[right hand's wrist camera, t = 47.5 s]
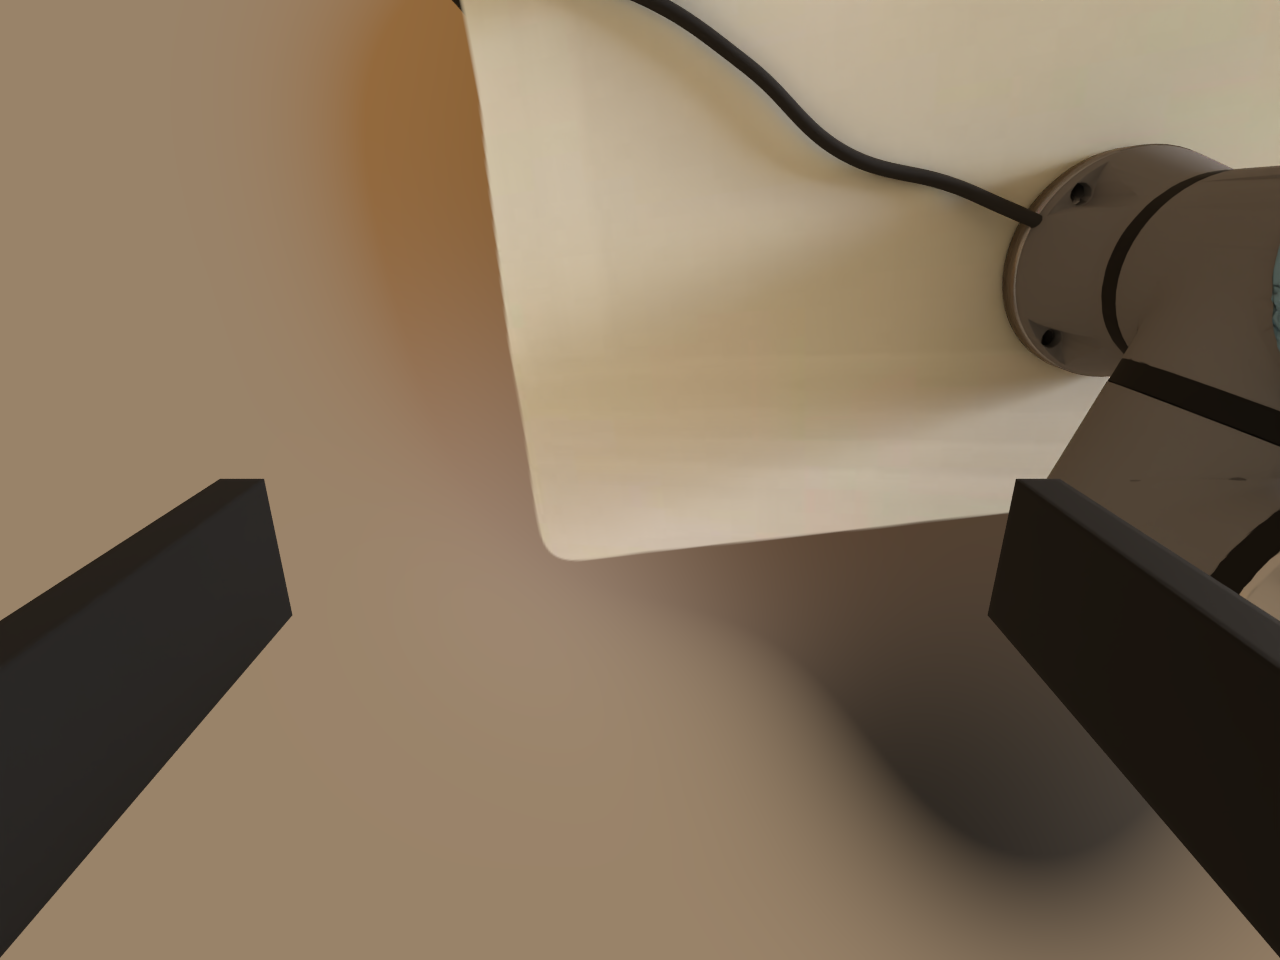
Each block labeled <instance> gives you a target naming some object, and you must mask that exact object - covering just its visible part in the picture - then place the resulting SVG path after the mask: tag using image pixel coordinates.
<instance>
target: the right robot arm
mask: <svg viewBox="0 0 1280 960" xmlns="http://www.w3.org/2000/svg"><path fill="white" fill-rule="evenodd" d="M452 1H453V2H454V3H455V4H456V5H457V7H458V8H459V9H460V10H461V11H462V12H463V8H462V3H461V0H452ZM631 1H634V2H636V3H638V4H640V5H642V6H645V7H647V8H649V9H651V10H653V11H655V12H657V13H658V14H660V15H662V16H664V17H666V18H667V19H669V20H671V21H673V22H674V23H676V24H677V25H679V26H681V27H682V28H684V29H685V30H687V31H688V32H690V33H691V34H693V35H694V36H695V37H697V38H698V39H700V40H701V41H702V42H704V43H705V44H707V45H708V46H709V47H711V48H712V49H713V50H714V51H716V52H717V53H718V54H720V55H721V56H722V57H724V58H725V59H726V60H727V61H729V62H730V63H731V64H733V65H734V66H735V67H736V68H738V69H739V70H740V71H742V72H743V73H744V74H745V75H747V76H748V77H749V78H750V79H752V80H753V81H754V82H755V83H756V84H757V85H758V86H759V87H761V88H762V89H763V90H764V91H765V92H766V93H767V94H768V95H769V96H770V97H771V98H772V99H773V100H774V102H775V103H776V104H777V105H778V106H779V107H780V108H781V109H782V110H783V111H784V112H785V113H786V114H787V116H788V117H789V118H790V119H791V120H792V121H793V122H794V123H795V124H796V125H797V126H798V127H799V128H800V129H801V130H802V131H803V132H804V133H805V134H806V135H807V136H808V137H809V138H810V139H811V140H813V141H814V142H815V143H816V144H818V145H819V146H820V147H821V148H823V149H824V150H826V151H827V152H828V153H830V154H832V155H833V156H835V157H837V158H838V159H840V160H842V161H844V162H846V163H848V164H850V165H852V166H854V167H856V168H859V169H861V170H864V171H867V172H870V173H873V174H876V175H880V176H884V177H888V178H893V179H898V180H903V181H908V182H913V183H918V184H922V185H927V186H931V187H934V188H938V189H941V190H944V191H947V192H950V193H953V194H956V195H959V196H961V197H963V198H966V199H968V200H970V201H973V202H975V203H977V204H979V205H981V206H984V207H986V208H988V209H990V210H993V211H995V212H997V213H999V214H1002V215H1004V216H1006V217H1009V218H1011V219H1013V220H1015V221H1018V222H1020V223H1019V225H1018V227H1017V229H1016V231H1015V233H1014V236H1013V238H1012V241H1011V243H1010V246H1009V249H1008V252H1007V256H1006V260H1005V265H1004V272H1003V299H1004V305H1005V310H1006V313H1007V317H1008V319H1009V322H1010V324H1011V327H1012V328H1013V330H1014V332H1015V334H1016V335H1017V337H1018V338H1019V340H1020V341H1021V342H1022V343H1023V344H1024V346H1025V347H1026V348H1027V349H1028V350H1029V351H1031V352H1032V353H1033V354H1034V355H1035V356H1037V357H1038V358H1040V359H1041V360H1043V361H1045V362H1047V363H1049V364H1051V365H1054V366H1056V367H1059V368H1062V369H1064V370H1067V371H1070V372H1072V373H1076V374H1080V375H1086V376H1097V377H1106V376H1111V377H1110V378H1109V380H1108V381H1107V382H1106V384H1105V385H1104V387H1103V389H1102V390H1101V392H1100V394H1099V395H1098V397H1097V398H1096V400H1095V402H1094V403H1093V405H1092V406H1091V408H1090V410H1089V411H1088V413H1087V415H1086V416H1085V418H1084V419H1083V421H1082V423H1081V424H1080V426H1079V428H1078V429H1077V431H1076V432H1075V434H1074V436H1073V437H1072V439H1071V440H1070V442H1069V444H1068V445H1067V447H1066V449H1065V450H1064V452H1063V453H1062V455H1061V457H1060V458H1059V460H1058V461H1057V463H1056V465H1055V466H1054V468H1053V470H1052V471H1051V473H1050V474H1049V476H1048V478H1047V479H1016V482H1015V487H1014V491H1013V496H1012V501H1011V506H1010V511H1009V515H1008V520H1007V525H1006V530H1005V535H1004V539H1003V544H1002V549H1001V554H1000V559H999V563H998V568H997V573H996V578H995V582H994V587H993V592H992V597H991V602H990V607H989V611H988V616H989V617H990V618H991V620H992V621H993V622H994V623H995V624H996V625H997V627H998V628H999V629H1000V630H1001V631H1002V633H1003V634H1004V635H1005V636H1006V637H1007V638H1008V640H1009V641H1010V642H1011V643H1012V644H1013V645H1014V647H1015V648H1016V649H1017V650H1018V651H1019V652H1020V654H1021V655H1022V656H1023V657H1024V658H1025V659H1026V661H1027V662H1028V663H1029V664H1030V665H1031V667H1032V668H1033V669H1034V670H1035V671H1036V672H1037V674H1038V675H1039V676H1040V677H1041V678H1042V679H1043V681H1044V682H1045V683H1046V684H1047V685H1048V686H1049V688H1050V689H1051V690H1052V691H1053V692H1054V693H1055V695H1056V696H1057V697H1058V698H1059V699H1060V700H1061V702H1062V703H1063V704H1064V705H1065V706H1066V707H1067V709H1068V710H1069V711H1070V712H1071V713H1072V715H1073V716H1074V717H1075V718H1076V719H1077V720H1078V722H1079V723H1080V724H1081V725H1082V726H1083V727H1084V729H1085V730H1086V731H1087V732H1088V733H1089V734H1090V736H1091V737H1092V738H1093V739H1094V740H1095V742H1096V743H1097V744H1098V745H1099V746H1100V747H1101V749H1102V750H1103V751H1104V752H1105V753H1106V754H1107V755H1108V757H1109V758H1110V759H1111V760H1112V761H1113V763H1114V764H1115V765H1116V766H1117V767H1118V768H1119V770H1120V771H1121V772H1122V773H1123V774H1124V775H1125V777H1126V778H1127V779H1128V780H1129V781H1130V783H1131V784H1132V785H1133V786H1134V787H1135V788H1136V790H1137V791H1138V792H1139V793H1140V794H1141V795H1142V797H1143V798H1144V799H1145V800H1146V801H1147V802H1148V804H1149V805H1150V806H1151V807H1152V808H1153V809H1154V811H1155V812H1156V813H1157V814H1158V815H1159V817H1160V818H1161V819H1162V820H1163V821H1164V822H1165V824H1166V825H1167V826H1168V827H1169V828H1170V829H1171V831H1172V832H1173V833H1174V834H1175V835H1176V836H1177V838H1178V839H1179V840H1180V841H1181V842H1182V843H1183V845H1184V846H1185V847H1186V848H1187V849H1188V851H1189V852H1190V853H1191V854H1192V855H1193V856H1194V858H1195V859H1196V860H1197V861H1198V862H1199V863H1200V865H1201V866H1202V867H1203V868H1204V869H1205V870H1206V872H1207V873H1208V874H1209V875H1210V876H1211V877H1212V879H1213V880H1214V881H1215V882H1216V883H1217V884H1218V886H1219V887H1220V888H1221V889H1222V890H1223V892H1224V893H1225V894H1226V895H1227V896H1228V897H1229V899H1230V900H1231V901H1232V902H1233V903H1234V904H1235V906H1236V907H1237V908H1238V909H1239V910H1240V911H1241V913H1242V914H1243V915H1244V916H1245V917H1246V918H1247V920H1248V921H1249V922H1250V923H1251V924H1252V925H1253V927H1254V928H1255V929H1256V930H1257V931H1258V933H1259V934H1260V935H1261V936H1262V937H1263V938H1264V940H1265V941H1266V942H1267V943H1268V944H1269V945H1270V947H1271V948H1272V949H1273V950H1274V951H1275V952H1276V954H1277V955H1278V956H1279V957H1280V166H1270V167H1257V168H1244V169H1232V168H1230V167H1228V166H1226V165H1224V164H1221V163H1219V162H1217V161H1215V160H1213V159H1211V158H1209V157H1206V156H1204V155H1202V154H1200V153H1197V152H1195V151H1192V150H1190V149H1187V148H1183V147H1180V146H1175V145H1168V144H1147V145H1138V146H1130V147H1123V148H1117V149H1113V150H1109V151H1106V152H1103V153H1100V154H1097V155H1095V156H1092V157H1090V158H1088V159H1086V160H1084V161H1082V162H1080V163H1079V164H1077V165H1075V166H1073V167H1072V168H1070V169H1069V170H1067V171H1066V172H1065V173H1063V174H1062V175H1060V176H1059V177H1058V178H1057V179H1056V180H1054V181H1053V182H1052V183H1051V184H1050V185H1049V186H1048V187H1047V188H1046V189H1045V190H1044V191H1043V192H1042V193H1041V194H1040V195H1039V196H1038V198H1037V199H1036V200H1035V201H1034V202H1033V204H1032V205H1031V206H1030V208H1029V209H1027V208H1024V207H1022V206H1020V205H1017V204H1015V203H1013V202H1010V201H1008V200H1006V199H1004V198H1001V197H999V196H997V195H995V194H992V193H990V192H988V191H986V190H983V189H981V188H979V187H977V186H974V185H972V184H970V183H967V182H965V181H962V180H959V179H956V178H953V177H950V176H947V175H944V174H940V173H937V172H933V171H929V170H924V169H920V168H915V167H910V166H905V165H900V164H895V163H891V162H887V161H883V160H879V159H876V158H873V157H870V156H868V155H865V154H863V153H860V152H858V151H856V150H854V149H852V148H850V147H848V146H846V145H845V144H843V143H842V142H840V141H838V140H837V139H835V138H834V137H833V136H831V135H830V134H828V133H827V132H826V131H825V130H824V129H822V128H821V127H820V126H819V125H818V124H817V123H816V122H815V121H813V120H812V118H811V117H810V116H809V115H808V114H807V113H806V112H805V111H804V110H803V109H802V108H801V107H800V106H799V105H798V104H797V103H796V102H795V100H794V99H793V98H792V97H791V96H790V95H789V94H788V93H787V92H786V91H785V90H784V88H783V87H782V86H781V85H780V84H779V83H778V82H777V81H776V80H775V79H774V78H773V77H772V76H771V75H770V74H769V73H767V72H766V71H765V70H764V69H763V68H762V67H761V66H760V65H758V64H757V63H756V62H755V61H753V60H752V59H751V58H750V57H748V56H747V55H746V54H745V53H743V52H742V51H741V50H739V49H738V48H737V47H736V46H734V45H733V44H732V43H731V42H729V41H728V40H727V39H725V38H724V37H723V36H721V35H720V34H719V33H718V32H716V31H715V30H714V29H712V28H711V27H710V26H708V25H707V24H705V23H704V22H703V21H701V20H700V19H698V18H697V17H695V16H694V15H692V14H691V13H689V12H688V11H686V10H685V9H683V8H682V7H680V6H678V5H676V4H675V3H673V2H671V1H670V0H631ZM463 13H464V12H463ZM291 616H292V611H291V606H290V602H289V597H288V592H287V587H286V582H285V578H284V573H283V568H282V563H281V559H280V554H279V549H278V544H277V539H276V535H275V530H274V525H273V520H272V516H271V511H270V506H269V501H268V496H267V491H266V487H265V482H264V479H219V480H218V481H216V482H215V483H213V484H211V485H210V486H208V487H207V488H205V489H204V490H202V491H201V492H199V493H197V494H196V495H194V496H193V497H191V498H190V499H188V500H187V501H185V502H184V503H182V504H180V505H179V506H177V507H176V508H174V509H173V510H171V511H170V512H168V513H167V514H165V515H164V516H162V517H160V518H159V519H157V520H156V521H154V522H153V523H151V524H150V525H148V526H146V527H145V528H143V529H142V530H140V531H139V532H137V533H136V534H134V535H132V536H131V537H129V538H128V539H126V540H125V541H123V542H122V543H120V544H119V545H117V546H115V547H114V548H112V549H111V550H109V551H108V552H106V553H105V554H103V555H101V556H100V557H98V558H97V559H95V560H94V561H92V562H91V563H89V564H88V565H86V566H84V567H83V568H81V569H80V570H78V571H77V572H75V573H74V574H72V575H71V576H69V577H68V578H66V579H64V580H63V581H61V582H60V583H58V584H57V585H55V586H54V587H52V588H51V589H49V590H47V591H46V592H44V593H43V594H41V595H40V596H38V597H36V598H35V599H33V600H32V601H30V602H29V603H27V604H26V605H24V606H23V607H21V608H19V609H18V610H16V611H15V612H13V613H12V614H10V615H9V616H7V617H5V618H4V619H2V620H1V621H0V957H1V956H2V955H3V954H4V952H5V951H6V950H7V949H8V948H9V947H10V945H11V944H12V943H13V942H14V941H15V939H16V938H17V937H18V936H19V935H20V934H21V932H22V931H23V930H24V929H25V928H26V927H27V926H28V924H29V923H30V922H31V921H32V920H33V918H34V917H35V916H36V915H37V914H38V913H39V911H40V910H41V909H42V908H43V907H44V906H45V904H46V903H47V902H48V901H49V900H50V899H51V897H52V896H53V895H54V894H55V893H56V892H57V890H58V889H59V888H60V887H61V886H62V884H63V883H64V882H65V881H66V880H67V879H68V877H69V876H70V875H71V874H72V873H73V872H74V870H75V869H76V868H77V867H78V866H79V865H80V863H81V862H82V861H83V860H84V859H85V858H86V856H87V855H88V854H89V853H90V852H91V851H92V849H93V848H94V847H95V846H96V845H97V843H98V842H99V841H100V840H101V839H102V838H103V836H104V835H105V834H106V833H107V832H108V831H109V829H110V828H111V827H112V826H113V825H114V824H115V822H116V821H117V820H118V819H119V818H120V816H121V815H122V814H123V813H124V812H125V811H126V809H127V808H128V807H129V806H130V805H131V804H132V802H133V801H134V800H135V799H136V798H137V797H138V795H139V794H140V793H141V792H142V791H143V790H144V788H145V787H146V786H147V785H148V784H149V783H150V781H151V780H152V779H153V778H154V777H155V775H156V774H157V773H158V772H159V771H160V770H161V768H162V767H163V766H164V765H165V764H166V762H167V761H168V760H169V759H170V758H171V757H172V756H173V754H174V753H175V752H176V751H177V750H178V749H179V747H180V746H181V745H182V744H183V743H184V742H185V740H186V739H187V738H188V737H189V736H190V734H191V733H192V732H193V731H194V730H195V729H196V727H197V726H198V725H199V724H200V723H201V722H202V720H203V719H204V718H205V717H206V716H207V715H208V713H209V712H210V711H211V710H212V709H213V708H214V706H215V705H216V704H217V703H218V702H219V700H220V699H221V698H222V697H223V696H224V695H225V693H226V692H227V691H228V690H229V689H230V688H231V686H232V685H233V684H234V683H235V682H236V681H237V679H238V678H239V677H240V676H241V675H242V673H243V672H244V671H245V670H246V669H247V668H248V667H249V665H250V664H251V663H252V662H253V661H254V659H255V658H256V657H257V656H258V655H259V654H260V652H261V651H262V650H263V649H264V648H265V647H266V645H267V644H268V643H269V642H270V641H271V640H272V638H273V637H274V636H275V635H276V634H277V632H278V631H279V630H280V629H281V628H282V627H283V625H284V624H285V623H286V622H287V621H288V620H289V618H290V617H291Z"/></svg>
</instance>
